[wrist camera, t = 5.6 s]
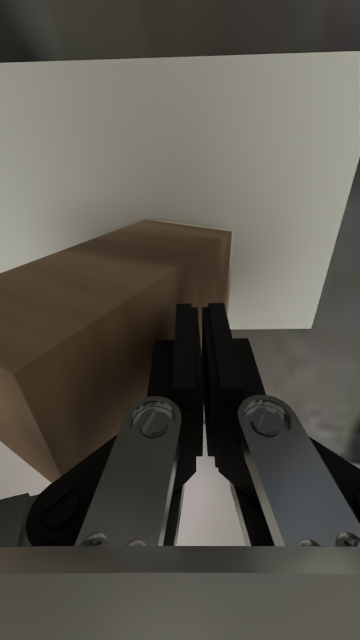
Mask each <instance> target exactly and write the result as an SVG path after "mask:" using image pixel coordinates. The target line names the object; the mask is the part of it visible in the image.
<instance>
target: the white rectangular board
mask: <svg viewBox="0 0 360 640" xmlns="http://www.w3.org/2000/svg"><path fill="white" fill-rule="evenodd" d="M359 157H360V51H347V52H317V53H287V54H256V55H226V56H196V57H165V58H135V59H104V60H74V61H44V62H13V63H0V273H2V272H5V271H8V270H10V269H13V268H16V267H18V266H21V265H24V264H26V263H29V262H32V261H35V260H37V259H40V258H43V257H45V256H48V255H51V254H53V253H56V252H59V251H61V250H64V249H67V248H70V247H72V246H75V245H78V244H80V243H83V242H86V241H88V240H91V239H94V238H96V237H99V236H102V235H105V234H107V233H110V232H113V231H115V230H118V229H121V228H123V227H126V226H129V225H132V224H134V223H137V222H140V221H142V220H145V219H148V218H151V219H159V220H166V221H173V222H180V223H188V224H195V225H202V226H209V227H216V228H224V229H231V230H234V242H233V254H232V267H231V279H230V291H229V303H228V315H227V318H228V322H229V326H230V329H311V328H312V324H313V320H314V317H315V313H316V310H317V306H318V303H319V299H320V296H321V292H322V289H323V285H324V281H325V278H326V274H327V271H328V267H329V264H330V260H331V257H332V253H333V250H334V246H335V242H336V239H337V235H338V232H339V228H340V225H341V221H342V218H343V214H344V211H345V207H346V203H347V200H348V196H349V193H350V189H351V186H352V182H353V179H354V175H355V172H356V168H357V164H358V161H359Z"/></svg>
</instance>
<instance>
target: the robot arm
mask: <svg viewBox="0 0 360 640" xmlns="http://www.w3.org/2000/svg"><path fill="white" fill-rule="evenodd" d="M203 405H204V410H205V424H206V437H207V451H208V456H215V467H218V468H219V472H220V473H221V474H222V475H223V476H224V477H225V478H227V479H228V480H229V481H230V489H231V492H232V496H233V500H234V503H235V507H236V511H237V514H238V518H239V521H240V525H241V529H242V533H243V536H244V540H245V543H246V546H176V544H177V537H178V530H179V523H180V516H181V508H182V502H183V494H184V484H185V483H186V482H187V481H188V480H189V479H190V477H191V476H192V475H193V474H194V473H195V472H196V456H202V455H203V453H202V452H203ZM0 640H360V469H359V468H357V467H356V466H354V465H352V464H351V463H349V462H348V461H346V460H345V459H343V458H342V457H340V456H338V455H337V454H335V453H334V452H332V451H331V450H329V449H327V448H326V447H324V446H323V445H321V444H320V443H318V442H317V441H315V440H313V439H312V438H310V437H309V436H308V434H307V433H306V431H305V429H304V428H303V426H302V424H301V422H300V421H299V419H298V417H297V415H296V414H295V412H294V411H293V410H292V409H291V407H290V406H289V405H287V404H286V403H285V402H283V401H282V400H280V399H278V398H276V397H273V396H268V395H266V394H265V390H264V387H263V384H262V381H261V378H260V374H259V371H258V368H257V365H256V362H255V358H254V355H253V352H252V349H251V346H250V342H249V340H248V339H247V338H238V339H232V335H231V330H230V326H229V322H228V318H227V313H226V309H225V305H224V303H208V307H202V357H201V344H200V331H199V318H198V307H192V304H191V303H182V304H176V321H175V340H155V342H154V349H153V356H152V363H151V370H150V377H149V384H148V391H147V397H146V398H143V399H141V400H139V401H137V402H135V403H134V404H133V405H132V406H131V407H130V408H129V409H128V411H127V413H126V414H125V417H124V419H123V422H122V424H121V427H120V430H119V432H118V434H117V435H116V436H114V437H113V438H112V439H110V440H109V441H108V442H106V443H105V444H104V445H102V446H101V447H100V448H98V449H97V450H96V451H94V452H93V453H92V454H90V455H89V456H88V457H86V458H85V459H84V460H82V461H81V462H80V463H78V464H77V465H76V466H74V467H73V468H72V469H70V470H69V471H68V472H66V473H65V474H64V475H62V476H61V477H60V478H58V479H57V480H56V481H54V482H53V483H52V484H50V485H49V486H48V487H47V488H46V489H45V490H44V491H42V492H41V493H40V494H39V495H35V496H30V495H29V494H28V493H26V494H21V495H17V496H13V497H9V498H5V499H1V500H0Z"/></svg>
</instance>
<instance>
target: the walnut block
mask: <svg viewBox="0 0 360 640" xmlns="http://www.w3.org/2000/svg"><path fill="white" fill-rule="evenodd" d="M233 242H234V230H231V229H224V228H216V227H209V226H202V225H195V224H188V223H180V222H173V221H166V220H159V219H151V218H148V219H145V220H142V221H140V222H137V223H134V224H132V225H129V226H126V227H123V228H121V229H118V230H115V231H113V232H110V233H107V234H105V235H102V236H99V237H96V238H94V239H91V240H88V241H86V242H83V243H80V244H78V245H75V246H72V247H70V248H67V249H64V250H61V251H59V252H56V253H53V254H51V255H48V256H45V257H43V258H40V259H37V260H35V261H32V262H29V263H26V264H24V265H21V266H18V267H16V268H13V269H10V270H8V271H5V272H2V273H0V441H1V442H2V443H3V444H5V445H6V446H7V447H9V448H10V449H11V450H12V451H13V452H15V453H16V454H17V455H18V456H20V457H21V458H22V459H23V460H24V461H26V462H27V463H28V464H29V465H31V466H32V467H33V468H34V469H35V470H37V471H38V472H39V473H40V474H42V475H43V476H44V477H45V478H46V479H48V480H49V481H50V482H51V483H53V482H54V481H56V480H57V479H58V478H60V477H61V476H62V475H64V474H65V473H66V472H68V471H69V470H70V469H72V468H73V467H74V466H76V465H77V464H78V463H80V462H81V461H82V460H84V459H85V458H86V457H88V456H89V455H90V454H92V453H93V452H94V451H96V450H97V449H98V448H100V447H101V446H102V445H104V444H105V443H106V442H108V441H109V440H110V439H112V438H113V437H114V436H116V435H117V434H118V432H119V430H120V427H121V424H122V422H123V419H124V417H125V414H126V413H127V411H128V409H129V408H130V407H131V406H132V405H133V404H134V403H135V402H137V401H139V400H141V399H143V398H146V397H147V391H148V384H149V377H150V370H151V363H152V356H153V349H154V342H155V340H175V321H176V304H182V303H191V304H192V307H198V318H199V331H200V344H201V350H202V307H208V303H224V305H225V309H226V313H227V315H228V303H229V291H230V279H231V267H232V254H233Z"/></svg>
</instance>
